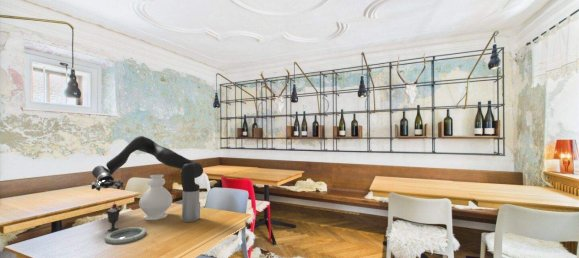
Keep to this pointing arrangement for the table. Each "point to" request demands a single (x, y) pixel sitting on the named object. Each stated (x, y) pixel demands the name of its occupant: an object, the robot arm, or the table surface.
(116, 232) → the tray
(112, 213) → the sundae
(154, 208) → the decorative vase
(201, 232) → the table surface
